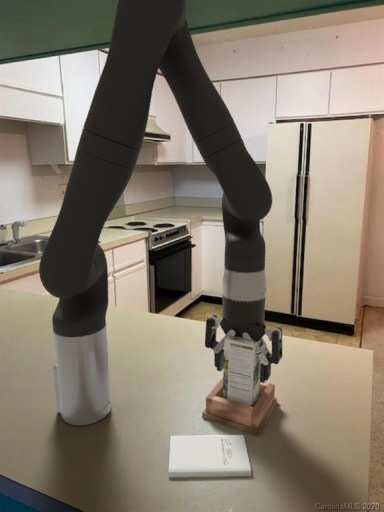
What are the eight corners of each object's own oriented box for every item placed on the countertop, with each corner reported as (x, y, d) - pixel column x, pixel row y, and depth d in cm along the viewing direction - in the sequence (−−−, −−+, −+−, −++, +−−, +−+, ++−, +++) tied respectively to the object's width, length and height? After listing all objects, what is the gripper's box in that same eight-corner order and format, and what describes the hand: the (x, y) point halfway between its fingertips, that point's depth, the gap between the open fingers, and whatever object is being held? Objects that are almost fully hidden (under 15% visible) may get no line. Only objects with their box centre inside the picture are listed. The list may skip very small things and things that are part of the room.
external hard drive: (170, 443, 66) (243, 441, 66) (168, 481, 58) (251, 479, 58) (170, 434, 65) (243, 433, 66) (168, 471, 57) (251, 469, 58)
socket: (202, 417, 71) (202, 398, 70) (225, 387, 81) (226, 370, 80) (259, 436, 66) (260, 415, 65) (277, 402, 76) (278, 384, 75)
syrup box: (231, 393, 77) (232, 326, 74) (260, 400, 75) (263, 331, 71) (221, 409, 72) (222, 338, 69) (252, 417, 70) (255, 343, 66)
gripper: (198, 292, 68) (198, 375, 72) (277, 305, 62) (273, 395, 65) (216, 281, 75) (215, 357, 78) (289, 292, 68) (284, 374, 72)
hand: (241, 374), depth 72 cm, fingers open, 8 cm apart
